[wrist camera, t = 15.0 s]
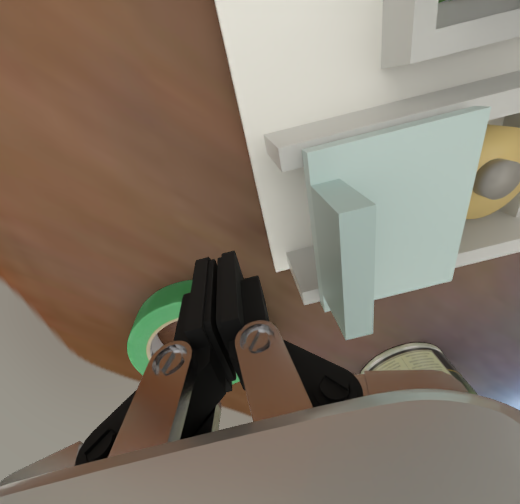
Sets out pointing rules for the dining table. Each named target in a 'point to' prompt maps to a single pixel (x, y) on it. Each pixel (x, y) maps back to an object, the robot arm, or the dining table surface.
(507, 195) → the yellow donut ring
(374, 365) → the coffee can
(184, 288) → the tape roll
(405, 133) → the lid
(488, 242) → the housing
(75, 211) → the dining table surface
